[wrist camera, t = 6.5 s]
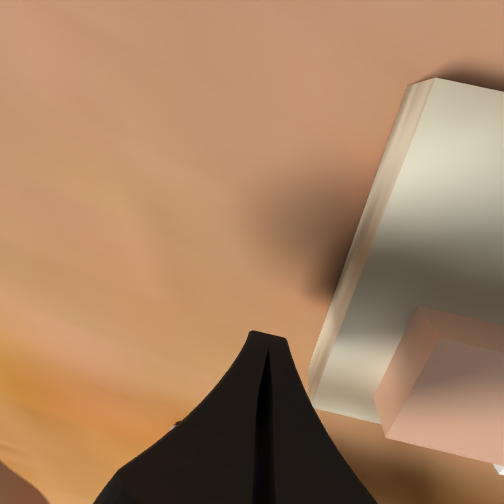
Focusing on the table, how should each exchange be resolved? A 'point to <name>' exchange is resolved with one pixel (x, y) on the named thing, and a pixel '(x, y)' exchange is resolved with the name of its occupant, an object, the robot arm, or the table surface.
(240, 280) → the table surface
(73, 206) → the table surface
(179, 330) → the table surface
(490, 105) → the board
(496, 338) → the terracotta tile
